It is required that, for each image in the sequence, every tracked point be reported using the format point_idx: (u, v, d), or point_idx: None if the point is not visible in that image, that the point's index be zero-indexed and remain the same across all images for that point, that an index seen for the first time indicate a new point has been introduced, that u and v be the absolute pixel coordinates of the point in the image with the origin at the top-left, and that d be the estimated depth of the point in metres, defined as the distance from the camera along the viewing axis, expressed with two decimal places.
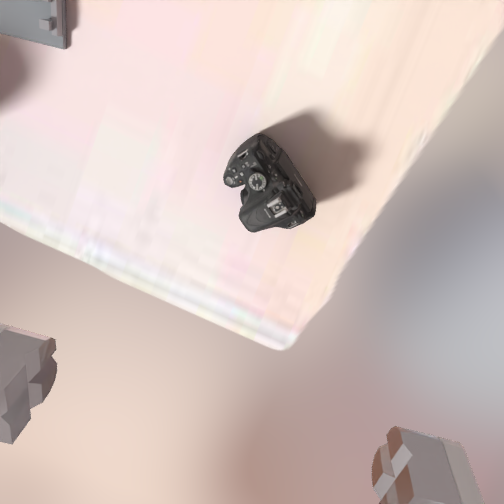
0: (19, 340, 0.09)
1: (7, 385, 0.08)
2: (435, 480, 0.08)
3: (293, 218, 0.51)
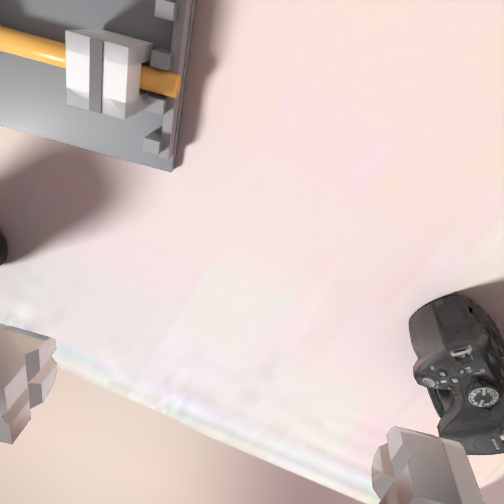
0: (19, 340, 0.09)
1: (7, 385, 0.08)
2: (435, 480, 0.08)
3: None
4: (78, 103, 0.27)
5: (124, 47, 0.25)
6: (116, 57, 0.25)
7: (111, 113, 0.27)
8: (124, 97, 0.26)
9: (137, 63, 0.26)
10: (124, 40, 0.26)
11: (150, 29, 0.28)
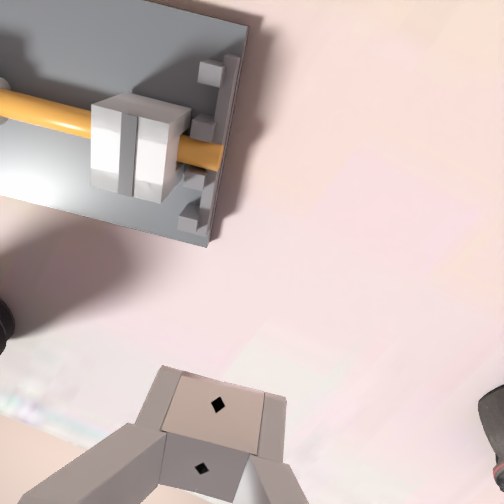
0: (199, 387, 0.09)
1: (209, 437, 0.08)
2: (238, 428, 0.08)
3: None
4: (105, 185, 0.22)
5: (164, 123, 0.20)
6: (153, 135, 0.20)
7: (144, 196, 0.22)
8: (161, 179, 0.22)
9: (176, 137, 0.22)
10: (160, 110, 0.22)
11: (188, 92, 0.24)
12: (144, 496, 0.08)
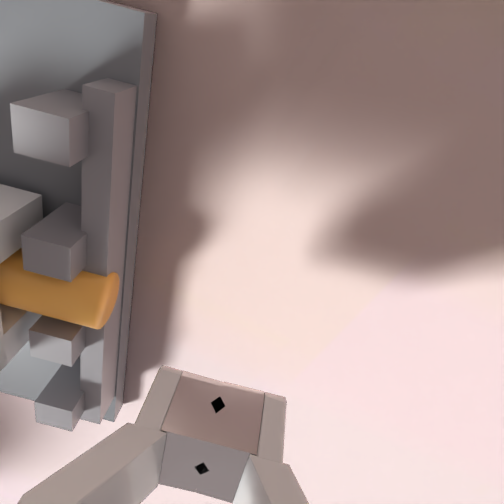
0: (199, 386, 0.09)
1: (209, 437, 0.08)
2: (239, 428, 0.08)
3: None
4: None
5: None
6: None
7: None
8: None
9: None
10: None
11: (32, 160, 0.11)
12: (144, 496, 0.08)
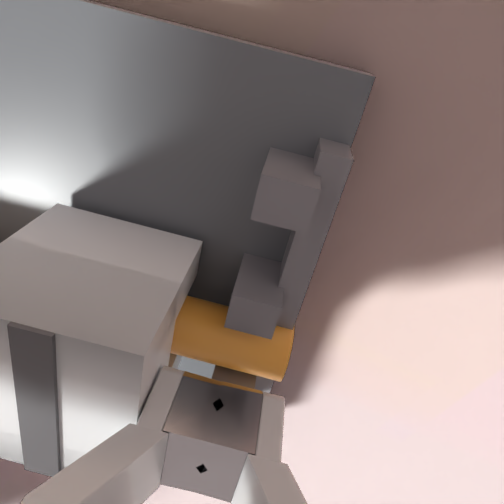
0: (200, 387, 0.09)
1: (211, 438, 0.08)
2: (237, 428, 0.08)
3: None
4: None
5: (129, 353, 0.07)
6: (102, 374, 0.07)
7: None
8: None
9: (167, 337, 0.09)
10: (127, 271, 0.09)
11: (218, 213, 0.11)
12: (146, 496, 0.08)
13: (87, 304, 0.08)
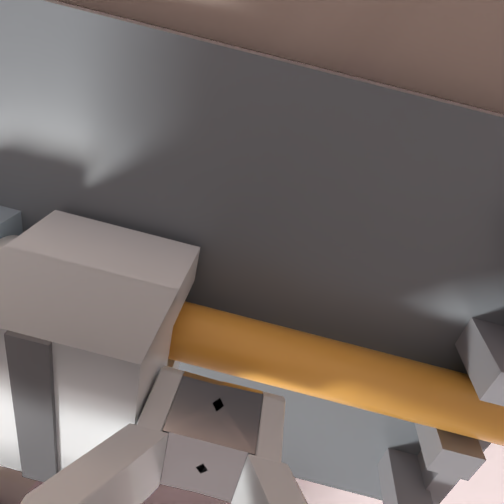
0: (200, 387, 0.09)
1: (211, 438, 0.08)
2: (237, 428, 0.08)
3: None
4: None
5: (126, 362, 0.07)
6: (99, 382, 0.07)
7: None
8: None
9: (164, 344, 0.09)
10: (124, 278, 0.09)
11: (456, 281, 0.11)
12: (146, 496, 0.08)
13: (84, 312, 0.08)
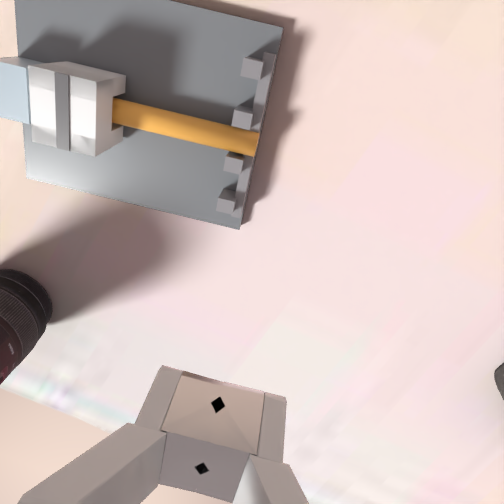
0: (199, 387, 0.09)
1: (209, 438, 0.08)
2: (239, 428, 0.08)
3: None
4: (45, 140, 0.25)
5: (92, 81, 0.23)
6: (83, 92, 0.23)
7: (80, 150, 0.25)
8: (94, 133, 0.24)
9: (108, 97, 0.25)
10: (93, 73, 0.25)
11: (228, 86, 0.27)
12: (144, 496, 0.08)
13: (79, 74, 0.24)
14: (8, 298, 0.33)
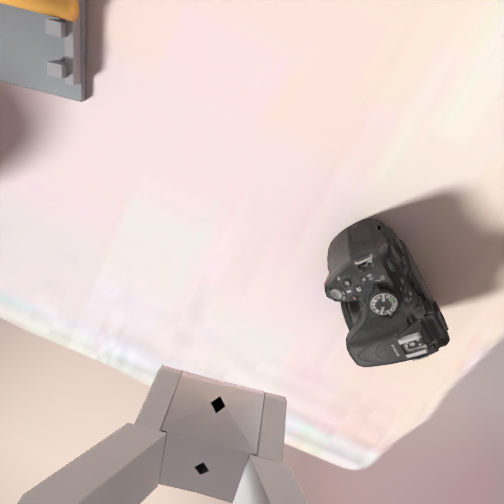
0: (199, 387, 0.09)
1: (209, 437, 0.08)
2: (238, 428, 0.08)
3: None
4: None
5: None
6: None
7: None
8: None
9: None
10: None
11: None
12: (144, 496, 0.08)
13: None
14: None
